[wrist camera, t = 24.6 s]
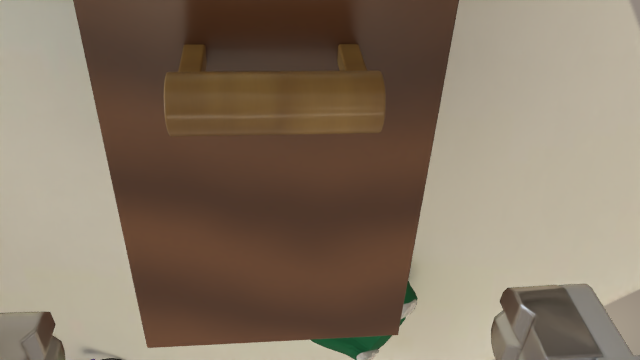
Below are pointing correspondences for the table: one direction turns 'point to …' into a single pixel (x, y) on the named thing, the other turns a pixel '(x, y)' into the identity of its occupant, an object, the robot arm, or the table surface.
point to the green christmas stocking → (368, 346)
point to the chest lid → (267, 158)
